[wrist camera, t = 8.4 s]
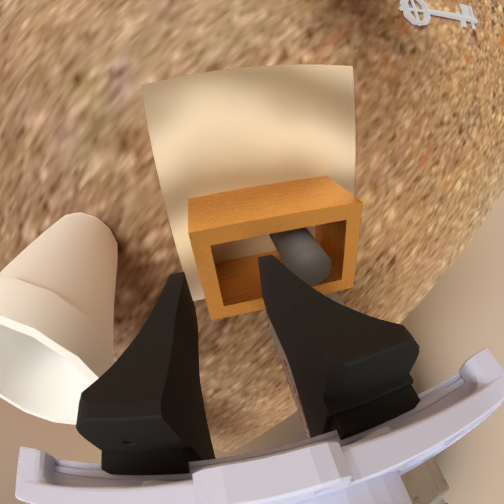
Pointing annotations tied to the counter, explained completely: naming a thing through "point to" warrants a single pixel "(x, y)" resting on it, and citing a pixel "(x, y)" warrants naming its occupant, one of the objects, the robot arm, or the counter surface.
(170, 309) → the robot arm
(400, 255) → the counter surface
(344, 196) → the orange wooden hollow box
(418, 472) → the thermos bottle
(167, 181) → the board
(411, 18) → the key
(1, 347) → the foam cup
